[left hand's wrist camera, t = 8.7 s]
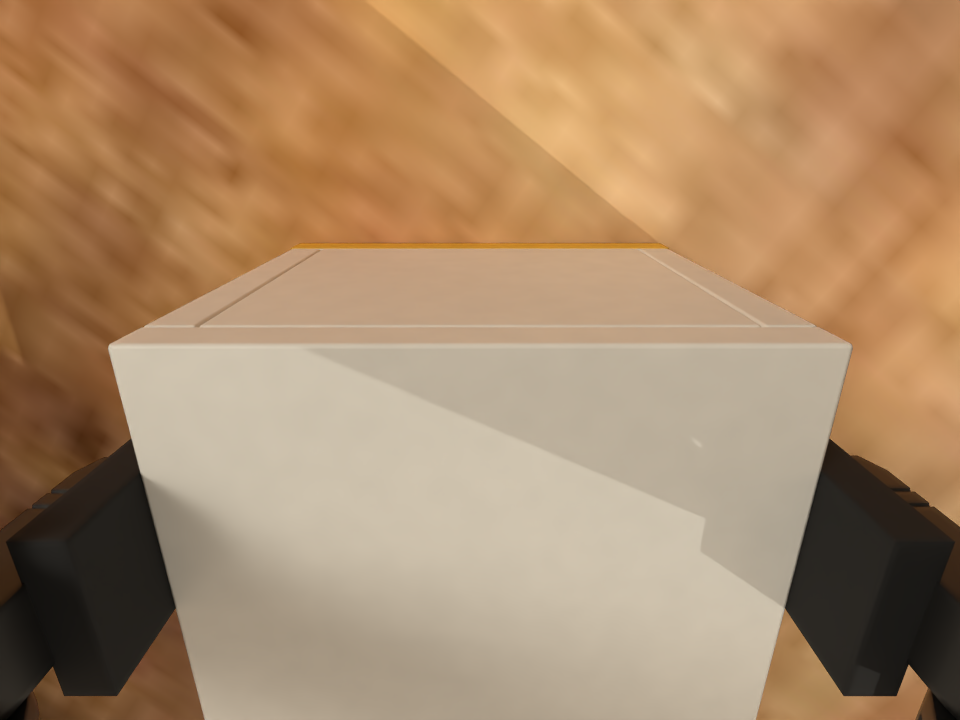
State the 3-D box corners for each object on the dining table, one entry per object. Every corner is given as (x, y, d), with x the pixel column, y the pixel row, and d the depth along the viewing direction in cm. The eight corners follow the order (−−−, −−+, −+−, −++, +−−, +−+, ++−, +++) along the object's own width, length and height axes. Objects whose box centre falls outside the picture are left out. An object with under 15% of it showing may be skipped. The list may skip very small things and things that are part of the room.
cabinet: (615, 623, 21) (703, 929, 13) (344, 624, 21) (257, 930, 13) (660, 243, 16) (857, 343, 8) (299, 243, 16) (103, 343, 8)
